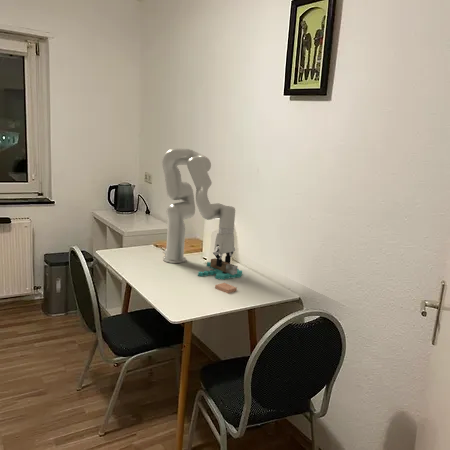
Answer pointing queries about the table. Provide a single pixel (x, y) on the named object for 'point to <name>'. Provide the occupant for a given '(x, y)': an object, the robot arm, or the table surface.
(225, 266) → the brown flat bar
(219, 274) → the alien figure
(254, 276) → the table surface
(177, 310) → the table surface
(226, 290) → the tile
